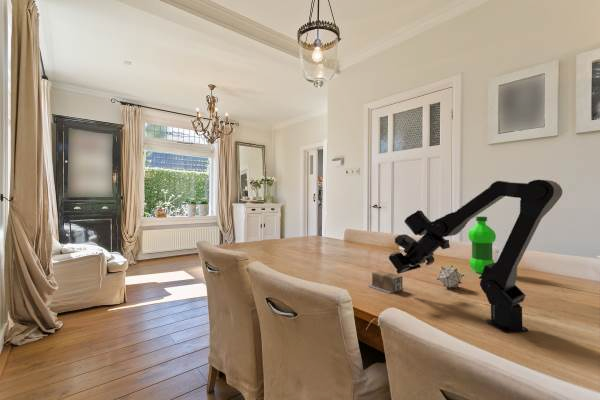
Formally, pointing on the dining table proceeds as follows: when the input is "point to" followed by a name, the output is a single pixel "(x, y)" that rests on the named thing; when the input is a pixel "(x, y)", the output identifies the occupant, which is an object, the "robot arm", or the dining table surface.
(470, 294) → the dining table surface
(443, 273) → the grey spiky ball
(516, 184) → the robot arm
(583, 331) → the dining table surface
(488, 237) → the plastic bottle
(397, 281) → the grey rectangular block
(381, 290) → the felt mat
